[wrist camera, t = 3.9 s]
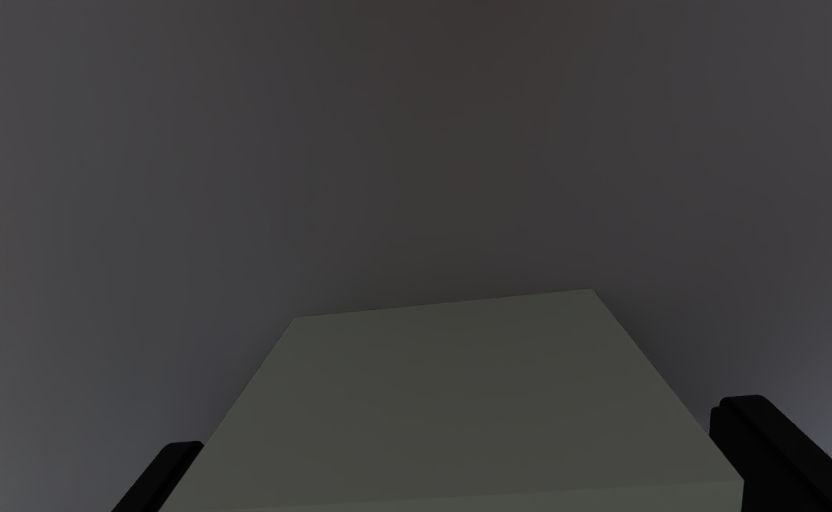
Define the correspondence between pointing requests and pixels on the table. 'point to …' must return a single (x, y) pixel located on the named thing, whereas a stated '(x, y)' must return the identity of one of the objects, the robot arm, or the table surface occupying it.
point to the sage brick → (460, 418)
